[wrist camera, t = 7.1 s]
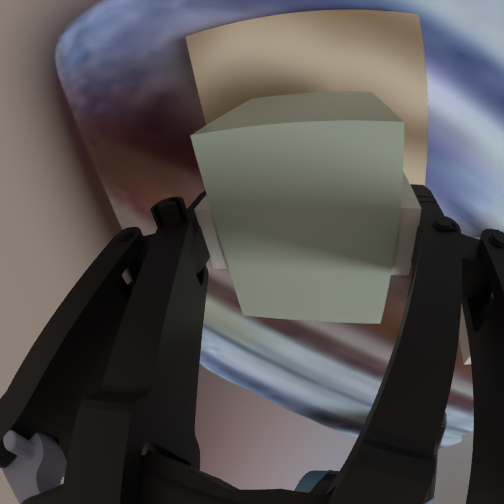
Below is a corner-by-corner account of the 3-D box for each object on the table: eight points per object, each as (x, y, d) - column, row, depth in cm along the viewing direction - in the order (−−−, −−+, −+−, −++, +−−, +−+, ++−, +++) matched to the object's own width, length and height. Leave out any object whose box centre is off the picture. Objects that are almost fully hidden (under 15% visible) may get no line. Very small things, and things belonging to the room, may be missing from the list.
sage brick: (372, 228, 16) (380, 323, 11) (275, 227, 18) (243, 315, 13) (371, 91, 11) (404, 121, 6) (252, 98, 13) (190, 135, 8)
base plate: (415, 212, 18) (419, 223, 17) (235, 211, 23) (229, 221, 22) (412, 17, 10) (418, 14, 9) (195, 37, 14) (185, 36, 13)
